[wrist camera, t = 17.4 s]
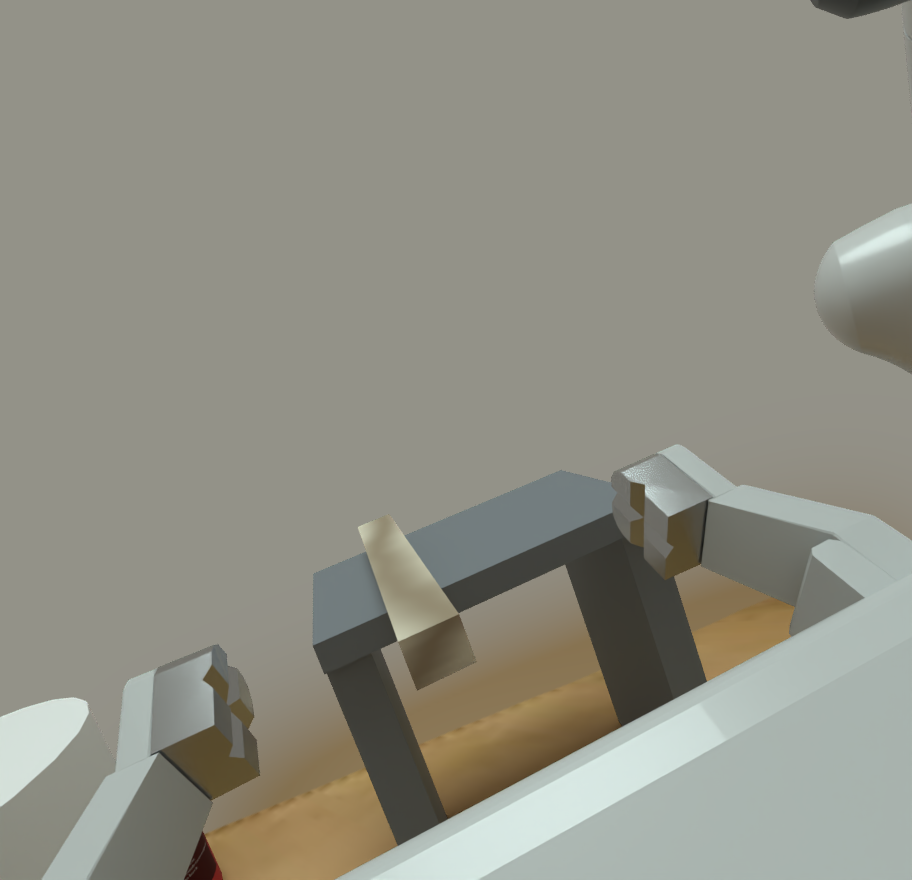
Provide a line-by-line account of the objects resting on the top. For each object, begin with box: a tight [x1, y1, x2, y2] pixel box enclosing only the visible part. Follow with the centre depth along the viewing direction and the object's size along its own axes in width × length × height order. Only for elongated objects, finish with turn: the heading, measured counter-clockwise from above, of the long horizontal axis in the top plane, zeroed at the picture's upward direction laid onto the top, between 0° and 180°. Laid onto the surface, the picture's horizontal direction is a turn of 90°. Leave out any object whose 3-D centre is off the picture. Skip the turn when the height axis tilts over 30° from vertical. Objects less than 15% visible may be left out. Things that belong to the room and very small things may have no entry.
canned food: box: [184, 831, 223, 880], centre depth 53 cm, size 8×8×11 cm
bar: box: [358, 514, 477, 690], centre depth 39 cm, size 3×26×2 cm, turn 14°
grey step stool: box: [313, 470, 707, 846], centre depth 48 cm, size 25×16×26 cm, turn 104°
